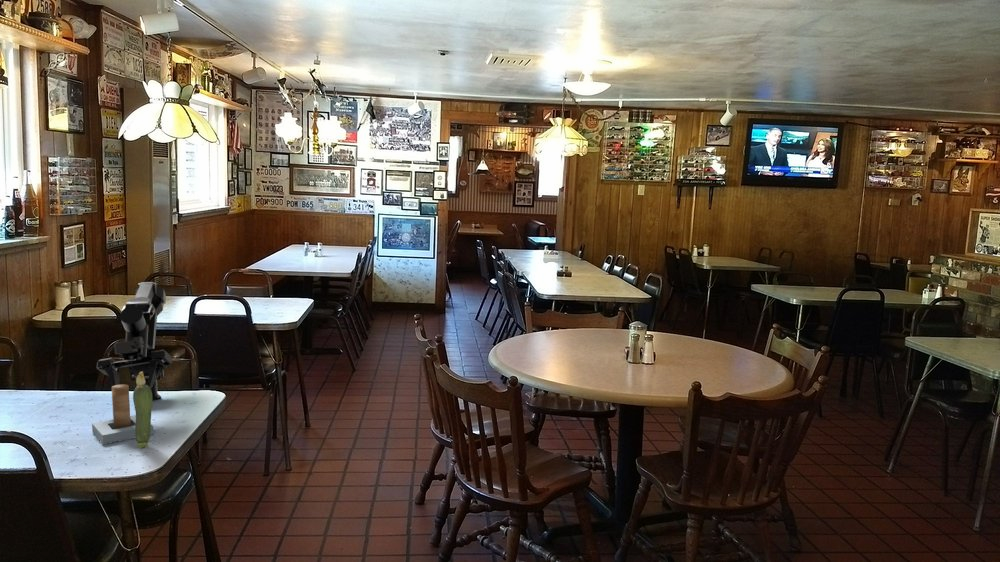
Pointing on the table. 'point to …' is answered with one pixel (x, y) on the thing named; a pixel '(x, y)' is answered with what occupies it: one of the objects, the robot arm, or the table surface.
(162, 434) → the table surface
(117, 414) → the peg
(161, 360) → the robot arm
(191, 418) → the table surface
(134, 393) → the vegetable
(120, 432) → the socket
